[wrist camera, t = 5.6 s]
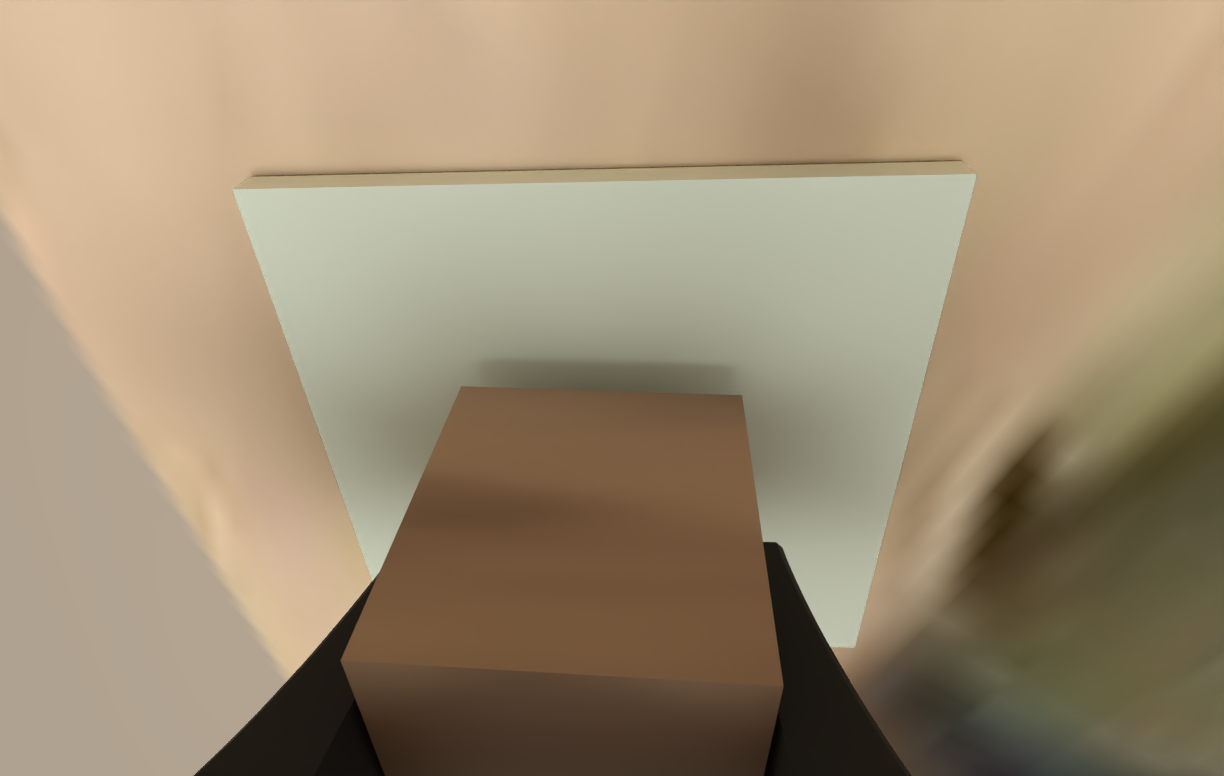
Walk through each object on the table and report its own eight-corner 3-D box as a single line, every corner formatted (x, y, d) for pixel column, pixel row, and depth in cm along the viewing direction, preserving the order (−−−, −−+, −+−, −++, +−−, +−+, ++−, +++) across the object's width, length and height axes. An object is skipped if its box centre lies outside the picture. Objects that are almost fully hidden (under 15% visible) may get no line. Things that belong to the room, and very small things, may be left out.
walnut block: (720, 584, 14) (740, 879, 9) (491, 573, 14) (414, 854, 10) (742, 394, 11) (784, 686, 7) (461, 386, 11) (340, 660, 7)
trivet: (849, 625, 17) (854, 647, 16) (399, 614, 17) (391, 635, 17) (962, 161, 10) (977, 174, 10) (250, 176, 11) (231, 189, 11)
